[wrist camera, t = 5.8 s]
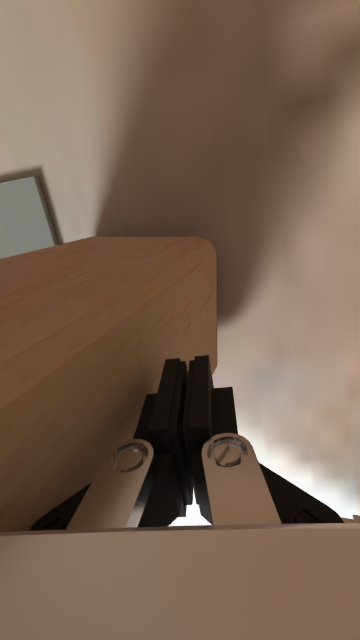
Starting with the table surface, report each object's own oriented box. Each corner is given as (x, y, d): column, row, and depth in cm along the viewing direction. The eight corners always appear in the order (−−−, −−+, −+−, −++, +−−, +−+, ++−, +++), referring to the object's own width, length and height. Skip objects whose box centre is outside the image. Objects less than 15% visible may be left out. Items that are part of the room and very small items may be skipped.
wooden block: (89, 234, 24) (-478, 364, 7) (220, 234, 21) (-250, 495, 3) (107, 353, 28) (-229, 633, 10) (220, 369, 24) (1, 827, 7)
